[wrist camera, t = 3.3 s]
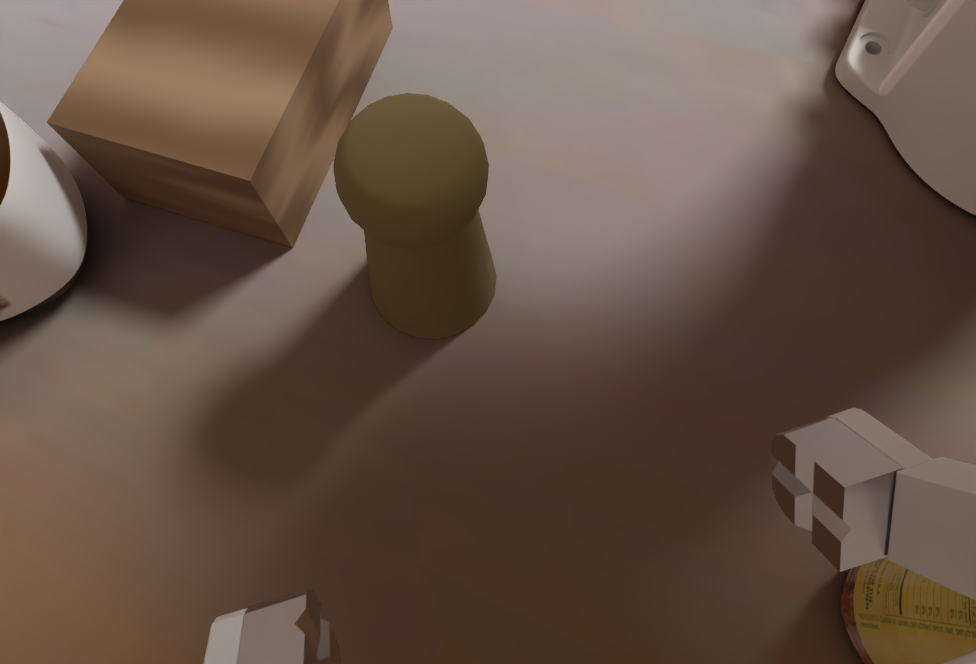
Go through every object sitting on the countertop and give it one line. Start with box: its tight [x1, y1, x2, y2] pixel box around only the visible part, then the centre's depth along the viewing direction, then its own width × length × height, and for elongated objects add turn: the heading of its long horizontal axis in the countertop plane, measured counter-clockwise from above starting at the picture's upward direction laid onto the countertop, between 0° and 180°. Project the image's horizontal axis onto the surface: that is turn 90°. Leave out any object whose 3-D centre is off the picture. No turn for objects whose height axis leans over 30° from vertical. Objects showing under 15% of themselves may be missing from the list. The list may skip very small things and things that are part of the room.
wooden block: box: [47, 0, 393, 248], centre depth 31 cm, size 14×9×6 cm, turn 163°
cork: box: [334, 93, 496, 339], centre depth 25 cm, size 6×6×11 cm
